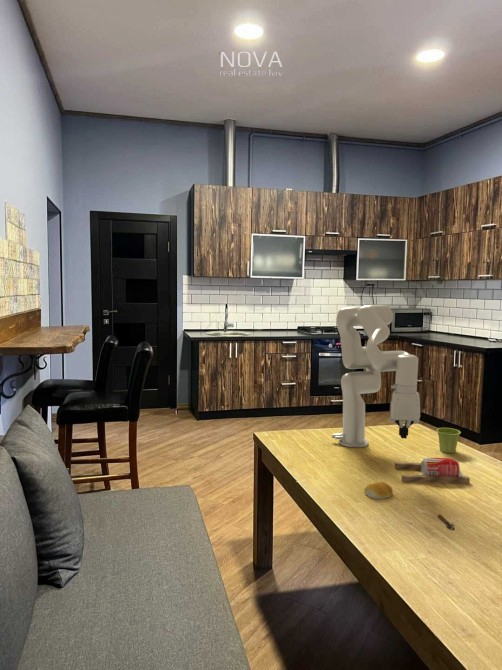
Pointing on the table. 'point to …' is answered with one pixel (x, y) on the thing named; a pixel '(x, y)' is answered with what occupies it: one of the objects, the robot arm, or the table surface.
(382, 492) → the bread roll
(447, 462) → the soda can
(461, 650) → the table surface
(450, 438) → the plant pot
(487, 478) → the table surface
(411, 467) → the walnut rails
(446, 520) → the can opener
